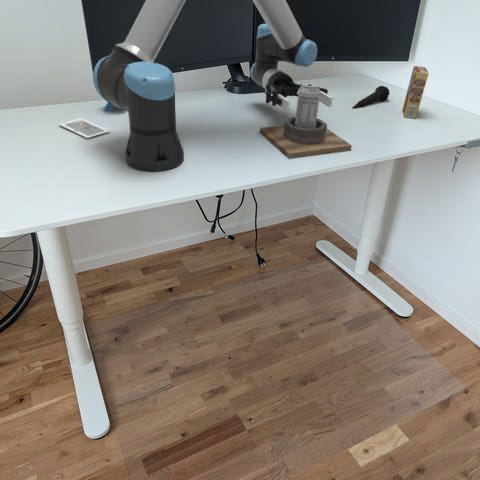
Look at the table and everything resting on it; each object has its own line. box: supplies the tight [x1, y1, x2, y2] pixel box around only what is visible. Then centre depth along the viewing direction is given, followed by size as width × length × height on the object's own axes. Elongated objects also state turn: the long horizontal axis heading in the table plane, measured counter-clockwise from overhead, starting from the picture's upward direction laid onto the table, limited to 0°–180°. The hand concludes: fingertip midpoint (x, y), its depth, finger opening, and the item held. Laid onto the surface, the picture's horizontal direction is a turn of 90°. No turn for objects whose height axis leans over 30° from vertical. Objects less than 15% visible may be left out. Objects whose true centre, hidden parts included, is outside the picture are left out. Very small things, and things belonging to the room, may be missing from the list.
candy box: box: [402, 65, 429, 119], centre depth 156 cm, size 9×4×15 cm, turn 167°
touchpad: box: [58, 117, 110, 139], centre depth 137 cm, size 8×15×2 cm, turn 49°
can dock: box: [259, 116, 352, 159], centre depth 135 cm, size 20×20×6 cm
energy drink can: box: [295, 81, 320, 129], centre depth 131 cm, size 6×6×15 cm
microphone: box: [352, 85, 391, 109], centre depth 168 cm, size 6×6×20 cm
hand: (309, 104), depth 130 cm, fingers open, 13 cm apart
